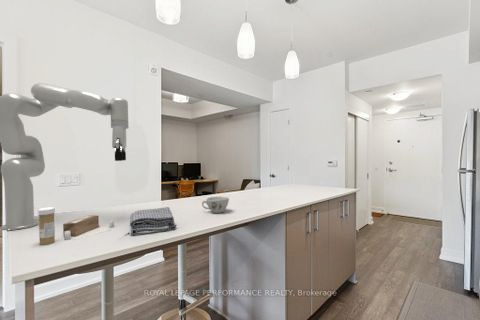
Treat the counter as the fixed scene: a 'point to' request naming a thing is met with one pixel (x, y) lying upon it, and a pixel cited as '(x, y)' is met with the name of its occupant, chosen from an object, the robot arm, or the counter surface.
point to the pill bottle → (46, 225)
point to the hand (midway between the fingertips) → (120, 160)
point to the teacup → (216, 204)
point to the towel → (151, 221)
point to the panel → (99, 230)
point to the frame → (81, 225)
